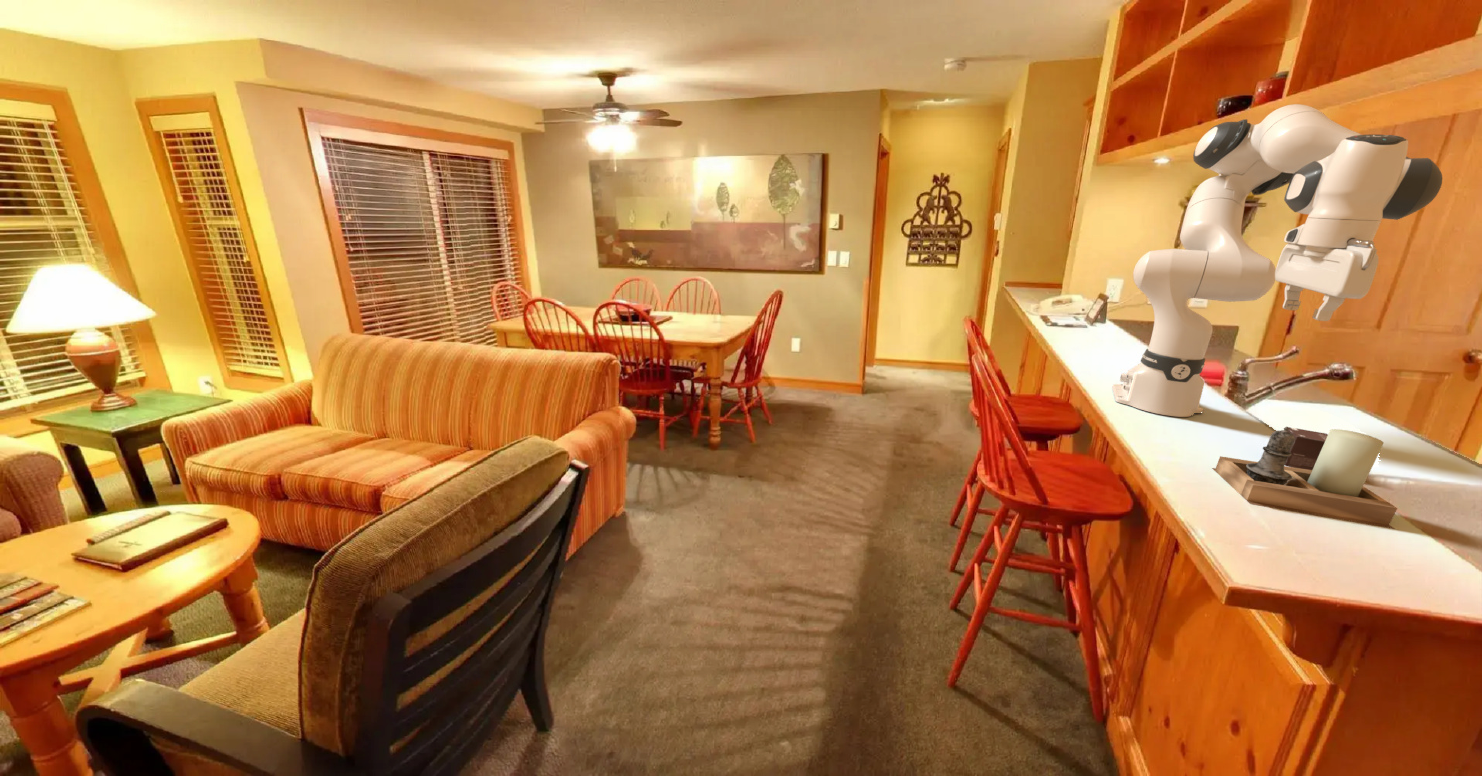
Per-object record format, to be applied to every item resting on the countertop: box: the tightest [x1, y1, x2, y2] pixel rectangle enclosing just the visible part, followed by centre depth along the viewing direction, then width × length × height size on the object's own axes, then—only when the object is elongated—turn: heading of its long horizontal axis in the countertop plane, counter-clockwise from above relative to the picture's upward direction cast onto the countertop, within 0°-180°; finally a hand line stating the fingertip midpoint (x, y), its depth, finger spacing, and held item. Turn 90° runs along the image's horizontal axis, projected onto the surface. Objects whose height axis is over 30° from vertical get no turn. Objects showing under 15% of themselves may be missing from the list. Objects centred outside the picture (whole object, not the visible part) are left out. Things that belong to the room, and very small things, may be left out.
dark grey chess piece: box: [1246, 426, 1295, 485], centre depth 92 cm, size 6×6×12 cm
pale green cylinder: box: [1307, 428, 1385, 497], centre depth 89 cm, size 6×6×12 cm
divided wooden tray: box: [1211, 456, 1398, 530], centre depth 92 cm, size 14×18×4 cm
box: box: [1284, 426, 1329, 470], centre depth 104 cm, size 6×6×7 cm
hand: (1304, 314), depth 97 cm, fingers open, 8 cm apart
